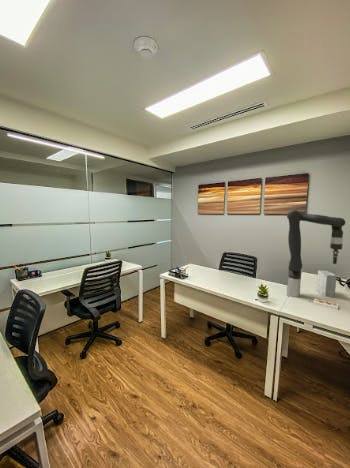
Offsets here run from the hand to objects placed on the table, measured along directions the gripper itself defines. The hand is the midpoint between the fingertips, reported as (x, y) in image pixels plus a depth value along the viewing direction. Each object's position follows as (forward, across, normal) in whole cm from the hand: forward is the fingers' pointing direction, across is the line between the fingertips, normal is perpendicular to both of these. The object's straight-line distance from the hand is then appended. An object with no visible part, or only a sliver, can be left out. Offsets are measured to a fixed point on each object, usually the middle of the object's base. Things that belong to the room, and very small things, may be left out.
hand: (334, 262), depth 163 cm
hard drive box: (+33, +14, +5) cm, 36 cm away
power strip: (+33, -14, +5) cm, 36 cm away
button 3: (+31, -14, -1) cm, 34 cm away
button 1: (+31, -14, +8) cm, 35 cm away
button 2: (+31, -14, +3) cm, 34 cm away
